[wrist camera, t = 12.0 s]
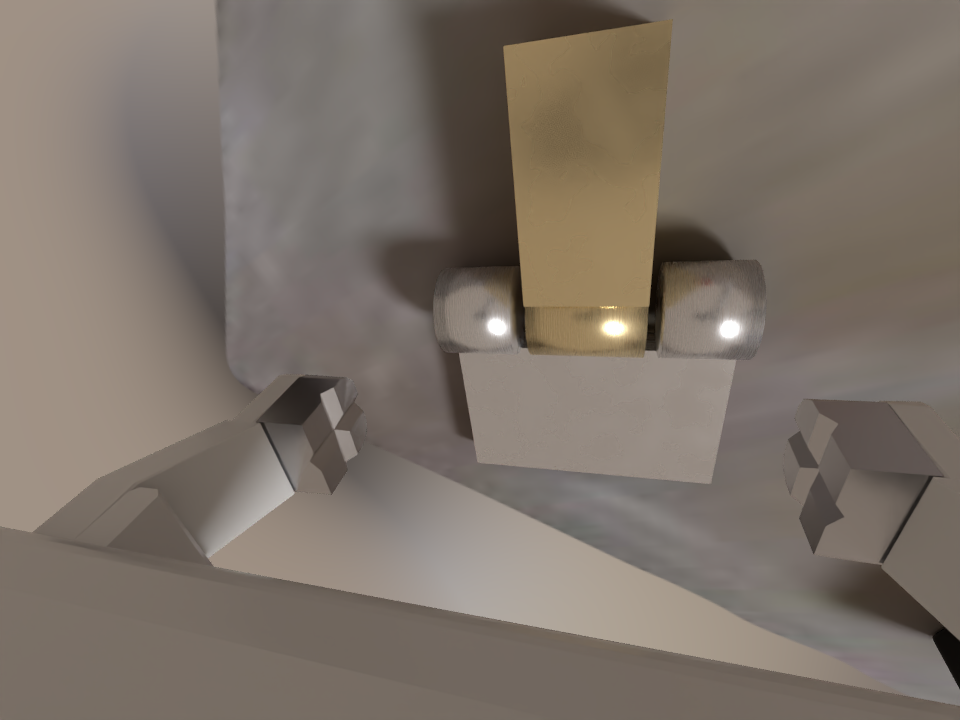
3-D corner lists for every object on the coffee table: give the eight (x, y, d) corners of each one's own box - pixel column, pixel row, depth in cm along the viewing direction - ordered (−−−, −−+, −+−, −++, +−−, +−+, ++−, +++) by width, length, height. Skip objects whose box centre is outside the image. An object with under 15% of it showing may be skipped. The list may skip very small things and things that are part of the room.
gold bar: (540, 328, 29) (528, 371, 25) (524, 47, 21) (503, 46, 17) (639, 329, 28) (643, 376, 24) (661, 26, 20) (672, 19, 16)
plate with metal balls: (483, 444, 36) (467, 493, 32) (454, 255, 28) (426, 289, 24) (705, 462, 32) (718, 521, 28) (747, 245, 24) (774, 284, 20)
